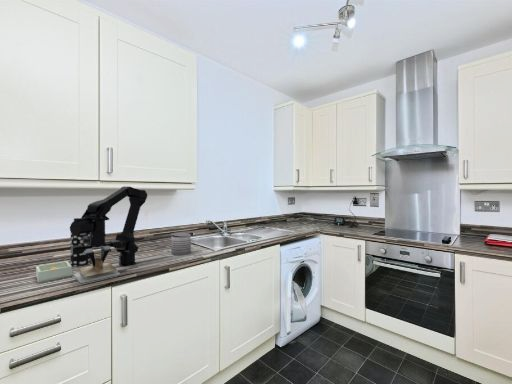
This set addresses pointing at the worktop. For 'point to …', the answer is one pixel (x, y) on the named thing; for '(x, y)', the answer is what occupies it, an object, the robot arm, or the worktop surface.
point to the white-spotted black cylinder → (79, 258)
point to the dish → (53, 271)
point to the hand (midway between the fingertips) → (97, 266)
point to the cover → (97, 268)
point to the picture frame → (95, 276)
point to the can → (180, 244)
